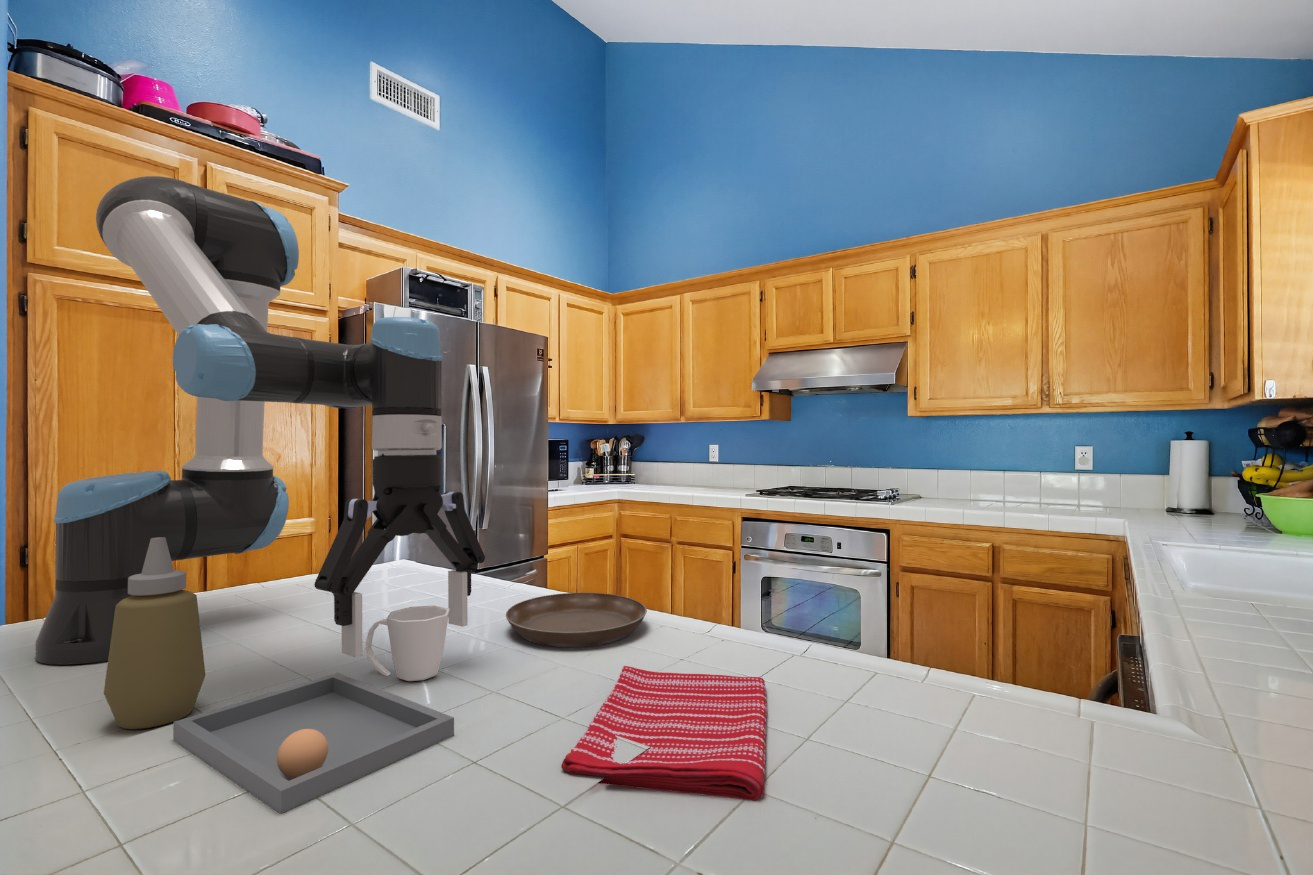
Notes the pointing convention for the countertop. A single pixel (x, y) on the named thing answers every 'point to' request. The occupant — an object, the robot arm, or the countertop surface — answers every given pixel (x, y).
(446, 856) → the countertop surface
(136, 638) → the squeeze bottle
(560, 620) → the plant saucer
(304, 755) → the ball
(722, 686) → the dish towel
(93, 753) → the countertop surface
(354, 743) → the tray
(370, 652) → the cup
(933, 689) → the countertop surface
